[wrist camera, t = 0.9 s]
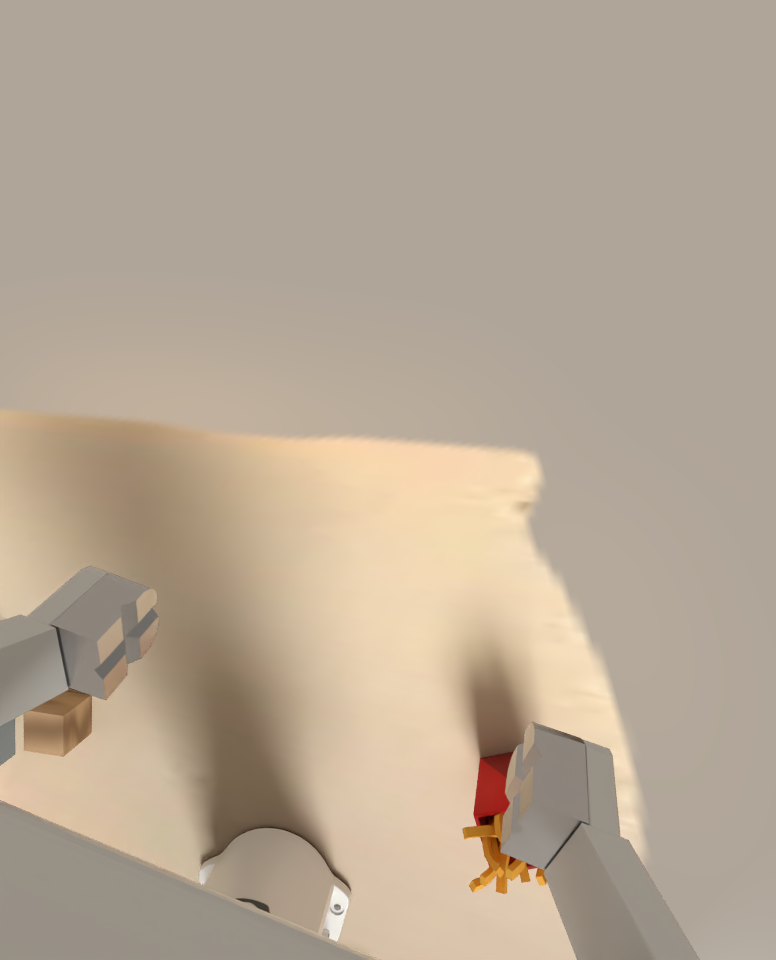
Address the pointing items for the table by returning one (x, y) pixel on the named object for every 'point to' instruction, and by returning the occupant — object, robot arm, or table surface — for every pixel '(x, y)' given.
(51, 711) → the walnut cube
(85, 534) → the table surface
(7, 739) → the slate plinth
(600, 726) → the table surface
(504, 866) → the french fries
